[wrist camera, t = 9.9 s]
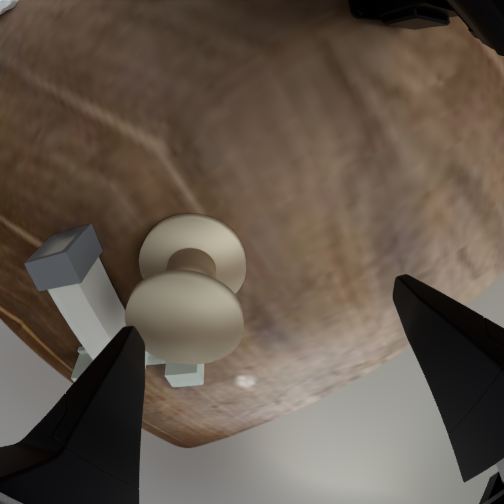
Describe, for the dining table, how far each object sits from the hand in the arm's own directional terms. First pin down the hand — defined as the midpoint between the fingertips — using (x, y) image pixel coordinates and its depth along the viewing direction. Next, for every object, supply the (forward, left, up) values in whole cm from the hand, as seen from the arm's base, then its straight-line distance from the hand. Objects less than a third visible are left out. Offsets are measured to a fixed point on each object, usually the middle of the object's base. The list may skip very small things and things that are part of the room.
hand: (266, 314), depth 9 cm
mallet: (+7, -14, -12) cm, 19 cm away
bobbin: (+5, -5, -12) cm, 14 cm away
